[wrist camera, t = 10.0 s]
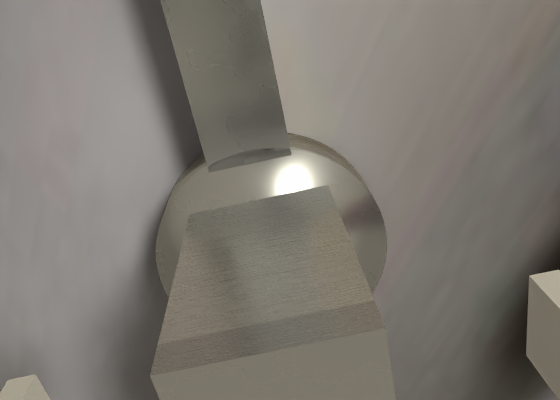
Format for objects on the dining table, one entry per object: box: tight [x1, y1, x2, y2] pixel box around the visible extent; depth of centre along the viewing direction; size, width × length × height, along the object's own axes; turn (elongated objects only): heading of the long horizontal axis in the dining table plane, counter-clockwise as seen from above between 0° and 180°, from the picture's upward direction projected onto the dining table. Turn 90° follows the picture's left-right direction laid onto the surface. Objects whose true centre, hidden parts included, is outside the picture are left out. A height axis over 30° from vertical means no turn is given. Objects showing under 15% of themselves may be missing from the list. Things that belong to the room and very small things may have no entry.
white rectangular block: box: [150, 185, 396, 400], centre depth 15 cm, size 5×5×8 cm
